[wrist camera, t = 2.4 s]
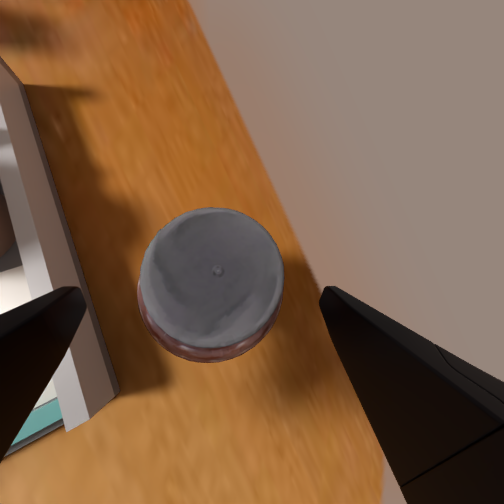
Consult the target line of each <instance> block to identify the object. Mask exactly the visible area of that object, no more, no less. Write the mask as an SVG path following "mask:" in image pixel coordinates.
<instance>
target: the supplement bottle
mask: <svg viewBox="0 0 504 504" xmlns="http://www.w3.org/2000/svg"><path fill="white" fill-rule="evenodd" d="M283 285H284V265H283V261H282V257H281V254H280V252H279V249H278V247H277V244H276V243H275V242H274V240H273V238H272V237H271V235H270V234H269V233H268V232H267V230H266V229H265V228H264V227H263V226H262V225H260V224H259V223H258V222H257V221H255V220H254V219H252V218H251V217H249V216H247V215H245V214H243V213H241V212H238V211H235V210H231V209H226V208H212V207H208V208H201V209H196V210H193V211H189V212H186V213H184V214H182V215H180V216H178V217H176V218H175V219H173V220H172V221H171V222H169V223H168V224H167V225H165V227H164V228H163V229H160V230H159V231H158V232H157V234H156V236H155V237H154V239H153V240H152V241H151V243H150V244H149V246H148V248H147V250H146V252H145V256H144V258H143V261H142V265H141V268H140V276H139V281H138V290H137V292H138V306H139V311H140V314H141V317H142V320H143V322H144V324H145V326H146V328H147V329H148V331H149V333H150V334H151V336H152V337H153V338H154V339H155V340H156V341H157V342H158V343H159V344H160V345H161V346H162V347H163V348H165V349H166V350H167V351H169V352H171V353H172V354H174V355H176V356H178V357H181V358H183V359H186V360H189V361H194V362H201V363H214V362H221V361H225V360H229V359H233V358H235V357H237V356H240V355H242V354H244V353H245V352H247V351H248V350H250V349H252V348H253V347H255V346H256V345H257V344H258V343H259V342H260V341H261V340H262V339H263V338H264V337H265V336H266V334H267V333H268V332H269V331H270V329H271V328H272V326H273V324H274V322H275V320H276V318H277V316H278V313H279V310H280V306H281V303H282V297H283Z"/></svg>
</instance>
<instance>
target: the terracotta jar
mask: <svg viewBox="0 0 504 504" xmlns="http://www.w3.org/2000/svg"><path fill="white" fill-rule="evenodd" d="M15 240H16V237H15V233H14V229H13V225H12V222H11V218H10V214H9V210H8V206H7V202H6V199H5V196H4V195H2V194H1V193H0V257H1V256H2V255H4V254H5V253H6V252H7V251H8V250H9V248H10V247H11V246H12V244H13V243H14V242H15Z"/></svg>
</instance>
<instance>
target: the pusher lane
mask: <svg viewBox="0 0 504 504" xmlns="http://www.w3.org/2000/svg"><path fill="white" fill-rule="evenodd" d="M0 193H1V194H2V195H4V196H5V199H6V202H7V206H8V210H9V214H10V218H11V222H12V225H13V229H14V233H15V237H16V240H15V242H14V243H13V244H12V246H11V247H10V248H9V250H8V251H7V252H6V253H5V254H4V255H2V256H1V257H0V314H2V313H5V312H7V311H9V310H11V309H13V308H16V307H18V306H20V305H22V304H25V303H27V302H29V301H31V300H33V299H36V298H38V297H40V296H42V295H44V294H47V293H49V292H51V291H53V290H55V289H58V288H60V287H63V286H78V287H79V288H81V291H82V293H83V296H84V298H85V301H86V304H87V309H86V313H85V315H84V317H83V319H82V321H81V323H80V325H79V327H78V329H77V332H76V334H75V336H74V338H73V340H72V342H71V344H70V346H69V349H68V351H67V352H66V354H65V356H64V358H63V360H62V362H61V363H60V365H59V367H58V368H57V370H56V372H55V373H54V375H53V377H52V378H51V380H50V382H49V383H48V385H47V387H46V388H45V390H44V392H43V393H42V395H41V397H40V398H39V400H38V402H37V403H36V405H35V407H34V408H33V410H32V412H31V413H30V415H29V416H28V418H27V420H26V421H25V423H24V425H23V426H22V428H21V430H20V431H19V433H18V435H17V436H16V438H15V440H14V441H13V443H12V445H11V446H10V448H9V450H8V451H7V453H6V455H5V456H7V455H9V454H10V453H12V452H14V451H16V450H18V449H20V448H21V447H23V446H25V445H27V444H29V443H30V442H32V441H34V440H36V439H38V438H40V437H41V436H43V435H45V434H47V433H49V432H51V431H52V430H54V429H56V428H58V427H60V426H62V425H63V424H64V425H65V429H66V432H68V431H70V430H71V429H73V428H75V427H77V426H78V425H80V424H82V423H84V422H86V421H87V420H89V419H90V418H92V417H93V416H94V415H95V414H96V413H97V412H98V411H99V410H100V409H101V408H103V407H104V406H105V405H106V404H107V403H108V402H109V401H110V400H111V399H112V398H114V397H115V396H116V395H117V394H118V393H119V392H120V388H119V385H118V382H117V379H116V376H115V372H114V369H113V366H112V363H111V360H110V357H109V354H108V350H107V347H106V344H105V341H104V338H103V335H102V331H101V328H100V325H99V322H98V319H97V316H96V313H95V309H94V306H93V303H92V300H91V297H90V294H89V290H88V287H87V284H86V281H85V278H84V275H83V272H82V268H81V265H80V262H79V259H78V256H77V253H76V249H75V246H74V243H73V240H72V237H71V234H70V231H69V227H68V224H67V221H66V218H65V215H64V212H63V208H62V205H61V202H60V199H59V196H58V193H57V190H56V186H55V183H54V180H53V177H52V174H51V171H50V167H49V164H48V161H47V158H46V155H45V152H44V149H43V145H42V142H41V139H40V136H39V133H38V130H37V126H36V123H35V120H34V117H33V114H32V111H31V108H30V104H29V101H28V98H27V95H26V92H25V89H24V85H23V83H22V82H21V81H20V79H19V78H18V77H17V76H16V75H15V73H14V72H13V71H12V70H11V69H10V67H9V66H8V65H7V64H6V63H5V61H4V60H3V59H2V58H1V57H0ZM5 456H4V457H5Z"/></svg>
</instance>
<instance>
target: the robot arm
mask: <svg viewBox="0 0 504 504" xmlns="http://www.w3.org/2000/svg"><path fill="white" fill-rule="evenodd" d="M319 306H320V309H321V312H322V315H323V318H324V320H325V323H326V326H327V329H328V332H329V335H330V337H331V340H332V342H333V344H334V347H335V349H336V351H337V353H338V355H339V357H340V360H341V362H342V364H343V366H344V368H345V370H346V372H347V375H348V377H349V379H350V381H351V383H352V385H353V388H354V390H355V392H356V394H357V396H358V398H359V401H360V403H361V405H362V407H363V409H364V411H365V413H366V416H367V418H368V420H369V422H370V424H371V426H372V429H373V431H374V433H375V435H376V437H377V439H378V441H379V444H380V446H381V448H382V450H383V452H384V454H385V457H386V459H387V461H388V463H389V465H390V467H391V470H392V472H393V474H394V476H395V478H396V480H397V482H398V485H399V486H400V489H401V491H402V494H403V496H404V498H405V500H406V502H407V504H504V382H502V381H501V380H499V379H497V378H495V377H493V376H491V375H489V374H488V373H486V372H483V371H482V370H480V369H478V368H476V367H475V366H473V365H471V364H469V363H467V362H466V361H464V360H462V359H460V358H459V357H457V356H455V355H453V354H452V353H450V352H448V351H446V350H445V349H443V348H441V347H439V346H438V345H436V344H433V343H432V342H431V341H429V340H427V339H426V338H424V337H422V336H420V335H418V334H417V333H415V332H414V331H412V330H410V329H408V328H407V327H405V326H403V325H401V324H400V323H398V322H396V321H395V320H393V319H391V318H389V317H388V316H386V315H384V314H383V313H381V312H379V311H377V310H376V309H374V308H372V307H370V306H369V305H367V304H365V303H364V302H361V301H360V300H358V299H357V298H355V297H353V296H352V295H350V294H348V293H346V292H344V291H343V290H341V289H339V288H338V287H336V286H326V287H325V288H324V290H323V292H322V295H321V298H320V300H319ZM86 309H87V304H86V301H85V298H84V296H83V293H82V291H81V288H79V287H78V286H63V287H60V288H58V289H55V290H53V291H51V292H49V293H47V294H44V295H42V296H40V297H38V298H36V299H33V300H31V301H29V302H27V303H25V304H22V305H20V306H18V307H16V308H13V309H11V310H9V311H7V312H5V313H2V314H0V463H1V461H2V460H3V458H4V456H5V455H6V453H7V451H8V450H9V448H10V446H11V445H12V443H13V441H14V440H15V438H16V436H17V435H18V433H19V431H20V430H21V428H22V426H23V425H24V423H25V421H26V420H27V418H28V416H29V415H30V413H31V412H32V410H33V408H34V407H35V405H36V403H37V402H38V400H39V398H40V397H41V395H42V393H43V392H44V390H45V388H46V387H47V385H48V383H49V382H50V380H51V378H52V377H53V375H54V373H55V372H56V370H57V368H58V367H59V365H60V363H61V362H62V360H63V358H64V356H65V354H66V352H67V351H68V349H69V346H70V344H71V342H72V340H73V338H74V336H75V334H76V332H77V329H78V327H79V325H80V323H81V321H82V319H83V317H84V315H85V313H86Z"/></svg>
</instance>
